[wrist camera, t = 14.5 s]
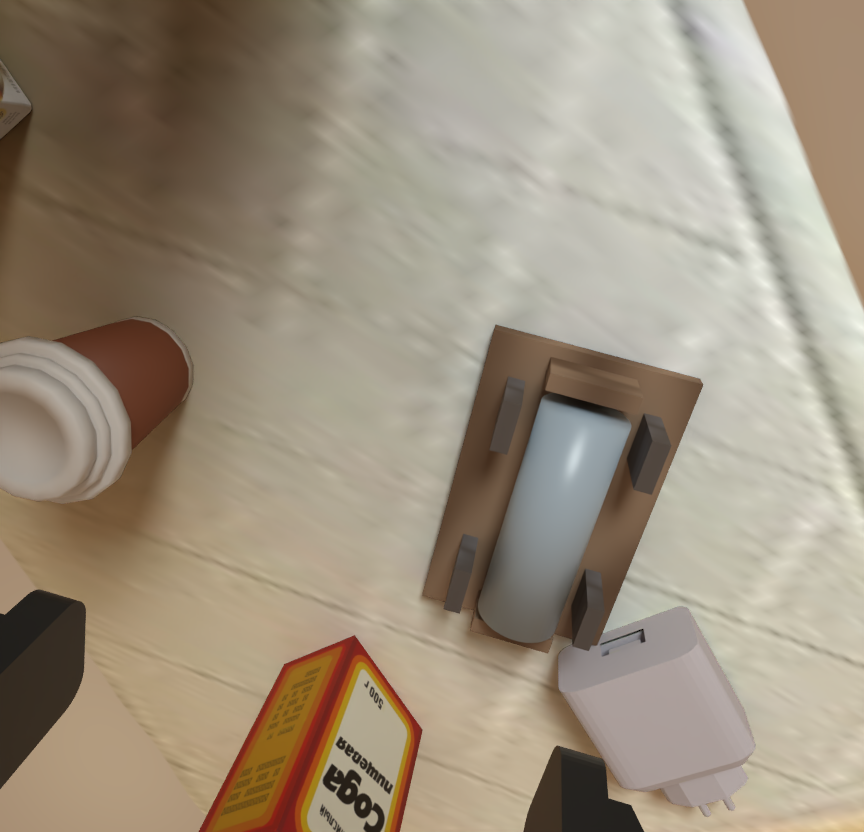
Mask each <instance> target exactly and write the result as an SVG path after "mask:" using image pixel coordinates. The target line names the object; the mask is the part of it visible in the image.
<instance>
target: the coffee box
mask: <svg viewBox="0 0 864 832" xmlns="http://www.w3.org/2000/svg"><path fill="white" fill-rule="evenodd" d="M31 109H32V107H31V103H30V102H29V100H28V99H27V97H26V96H25V95H24V93H23V92H22V90H21V89H20V87H19V86H18V84H17V83H16V81H15V80H14V79H13V77H12V76H11V74H10V73H9V71H8V70H7V68H6V67H5V65H4V64H3V63H2V61H1V60H0V139H1V138H2V137H3V136H4V135H6V134H7V133H8V132H9V131H10V130H11V129H12V128H13V127H14V126H15V125H16V124H18V123H19V122H20V121H21V120H22V119H23V118H24V117H25V116H26V115H27V114H28V113H29V112H30V111H31Z"/></svg>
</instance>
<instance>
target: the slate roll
mask: <svg viewBox="0 0 864 832" xmlns="http://www.w3.org/2000/svg"><path fill="white" fill-rule="evenodd" d="M630 430H631V423H630V421H629V420H628V419H627V418H626V417H625V416H624V415H623V414H622V413H620V412H619V411H617V410H616V409H613V408H609V407H605V406H602V405H598V404H594V403H591V402H587V401H583V400H579V399H576V398H572V397H568V396H565V395H561V394H557V393H550V394H546V395H544V396H543V397H542V399H541V402H540V406H539V409H538V412H537V415H536V418H535V422H534V425H533V428H532V431H531V434H530V438H529V441H528V444H527V447H526V450H525V454H524V457H523V460H522V463H521V466H520V470H519V473H518V476H517V479H516V482H515V486H514V489H513V492H512V495H511V498H510V502H509V505H508V508H507V511H506V514H505V518H504V521H503V524H502V527H501V530H500V534H499V537H498V540H497V543H496V546H495V550H494V553H493V556H492V559H491V562H490V566H489V569H488V572H487V575H486V578H485V582H484V585H483V588H482V591H481V594H480V598H479V601H478V610H479V613H480V615H481V617H482V619H483V620H484V621H485V623H486V624H487V625H488V626H489V627H491V628H492V629H493V630H494V631H496V632H497V633H499V634H501V635H503V636H504V637H507V638H509V639H512V640H515V641H519V642H524V643H538V642H542V641H545V640H547V639H549V638H550V637H552V635H553V634H554V632H555V630H556V628H557V625H558V622H559V620H560V617H561V614H562V612H563V609H564V606H565V604H566V601H567V598H568V596H569V593H570V590H571V588H572V585H573V582H574V579H575V577H576V574H577V571H578V569H579V566H580V563H581V561H582V558H583V555H584V553H585V550H586V547H587V545H588V542H589V539H590V537H591V534H592V531H593V529H594V526H595V523H596V521H597V518H598V515H599V513H600V510H601V507H602V505H603V502H604V499H605V497H606V494H607V491H608V489H609V486H610V483H611V481H612V478H613V475H614V473H615V470H616V467H617V465H618V462H619V459H620V457H621V454H622V451H623V448H624V446H625V443H626V440H627V438H628V435H629V432H630Z"/></svg>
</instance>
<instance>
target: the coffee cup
mask: <svg viewBox="0 0 864 832" xmlns="http://www.w3.org/2000/svg"><path fill="white" fill-rule="evenodd" d="M192 385H193V363H192V360H191V357H190V355H189V352H188V349H187V347H186V346H185V344H184V343H183V342H182V341H181V339H180V338H179V337H178V336H177V335H176V333H175V332H174V331H173V330H171V329H170V328H168V327H166V326H165V325H163V324H162V323H160V322H158V321H157V320H153V319H148V318H143V317H138V316H136V317H132V318H128V319H123V320H119V321H117V322H115V323H112V324H108V325H105V326H101V327H98V328H94V329H91V330H87V331H84V332H81V333H77V334H74V335H70V336H67V337H63V338H60V339H56V340H53V341H51V340H46V339H41V338H36V337H31V336H27V337H23V338H18V339H14V340H10V341H6V342H1V343H0V488H1V489H3V490H5V491H6V492H8V493H10V494H11V495H13V496H16V497H21V498H25V499H30V500H34V501H45V500H46V501H51V502H56V503H60V504H65V503H71V502H77V501H83V500H89V499H93V498H94V497H96V496H97V495H98V494H100V493H101V492H102V491H104V490H105V489H106V488H108V487H109V486H111V485H112V484H113V483H115V482H116V481H117V480H118V479H120V477H121V475H122V473H123V471H124V469H125V466H126V464H127V462H128V460H129V458H130V455H131V453H132V449H133V448H134V447H136V446H137V445H138V444H139V443H140V442H141V441H142V440H143V439H144V438H145V437H146V436H147V435H148V434H149V433H150V432H151V431H152V430H153V429H154V428H155V427H156V426H157V425H158V424H159V423H160V422H161V421H162V420H163V419H164V418H166V417H167V416H168V415H169V414H170V413H171V412H172V411H173V410H174V409H175V408H176V407H177V406H178V405H179V404H180V403H181V402H182V401H184V400H185V399H186V398H187V396H188V393H189V391H190V389H191V387H192Z"/></svg>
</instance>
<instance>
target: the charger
mask: <svg viewBox="0 0 864 832" xmlns="http://www.w3.org/2000/svg"><path fill="white" fill-rule="evenodd" d="M641 629H644V630H643V631H640V632H637V633H635V634H632V635H629V636H626V637H623V638H620V639H618V640H615V641H612V642H609V643H606V644H603V645H601V646H600V644H601V643H604V642H607V641H610V640H612V639H615V638H618V637H621V636H624V635H627V634H629V633H632V632H635V631H638V630H641ZM558 684H559V690H560V692H561V693H562V695H563V696H564V698H565V700H566V701H567V703H568V704H569V706H570V707H571V709H572V711H573V712H574V714H575V715H576V717H577V718H578V720H579V722H580V723H581V725H582V726H583V728H584V730H585V731H586V733H587V734H588V736H589V737H590V739H591V741H592V742H593V744H594V745H595V747H596V748H597V750H598V752H599V753H600V755H601V756H602V758H603V759H604V761H605V763H606V764H607V766H608V767H609V769H610V770H611V772H612V774H613V775H614V777H615V778H616V780H617V781H618V783H619V785H620V786H621V787H623V788H625V789H630V790H636V791H641V792H648V791H653V790H656V789H661V791H662V792H663V794H664V796H665V797H666V799H667V800H668V801H669V802H671V803H672V804H676V805H682V806H688V807H696V806H699V808H700V810H701V811H702V813H703V815H704V816H706V817H709V816H710V815H711V812H710V810H709V809H708V807H707V805H706V804H708V803H711V802H715V801H719V800H723V801H724V803H725V805H726V807H727V808H728V810H731V811H733V810H734V809H735V805H734V803H733V802H732V800H731V798H730V796H731V795H732V794H734V793H735V792H736V791H737V790H739V789H740V788H741V787H742V786H744V785H745V783H746V781H747V780H748V777H747V775H746V773H745V772H744V770H743V768H742V766H741V765H743V764H744V763H745V762H746V761H747V759H748V758H749V756H750V755H751V754H752V752H753V751H754V749H755V745H756V744H755V741H754V738H753V735H752V732H751V729H750V726H749V723H748V720H747V717H746V714H745V711H744V708H743V706H742V704H741V703H740V701H739V699H738V697H737V695H736V694H735V692H734V690H733V688H732V686H731V685H730V683H729V681H728V679H727V677H726V676H725V674H724V672H723V670H722V668H721V666H720V665H719V663H718V661H717V659H716V657H715V656H714V654H713V652H712V650H711V648H710V647H709V645H708V643H707V641H706V639H705V638H704V636H703V634H702V632H701V630H700V629H699V627H698V625H697V623H696V621H695V620H694V618H693V616H692V614H691V612H690V611H689V609H688V608H687V607H676V608H673V609H670V610H667V611H664V612H661V613H659V614H656V615H653V616H650V617H647V618H645V619H642V620H639V621H636V622H634V623H631V624H628V625H625V626H622V627H620V628H617V629H614V630H611V631H608V632H606V633H603V634H602V635H601V638H600V640H599V642H598V645H597V646H594V645H591V647H590V650H589V651H586V650H582V649H579V648H576V647H573V645H570V646H567V647H565V648H564V649H563V650H562V651H561V652H560V653H559V656H558Z"/></svg>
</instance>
